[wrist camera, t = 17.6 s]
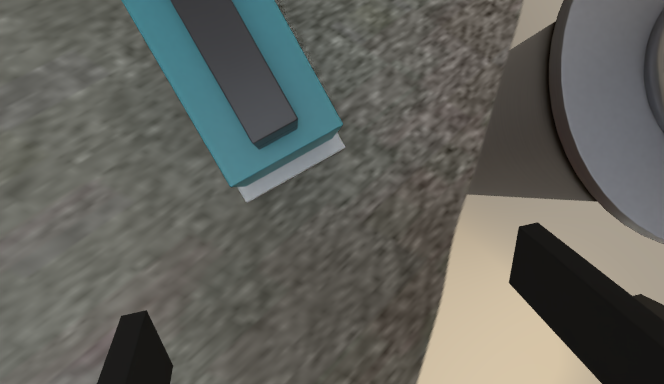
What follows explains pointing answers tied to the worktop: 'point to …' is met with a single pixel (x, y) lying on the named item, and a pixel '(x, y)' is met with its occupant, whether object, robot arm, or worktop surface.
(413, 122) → the worktop surface
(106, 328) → the worktop surface
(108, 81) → the worktop surface
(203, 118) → the teal slab with bar
